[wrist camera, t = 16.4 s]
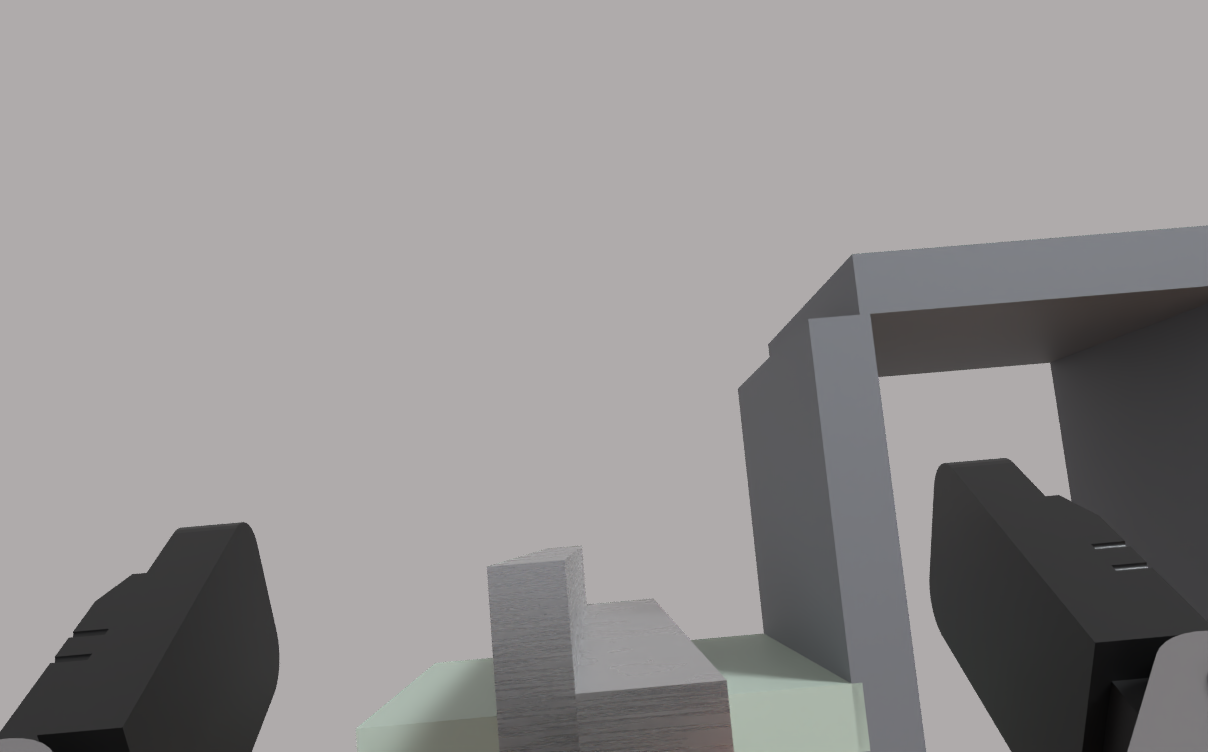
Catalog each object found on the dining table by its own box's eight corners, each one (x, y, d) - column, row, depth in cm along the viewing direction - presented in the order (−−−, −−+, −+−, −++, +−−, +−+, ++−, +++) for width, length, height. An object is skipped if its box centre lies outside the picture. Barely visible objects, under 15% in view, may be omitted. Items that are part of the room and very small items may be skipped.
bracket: (657, 643, 35) (648, 539, 36) (737, 783, 15) (713, 546, 16) (555, 652, 35) (547, 548, 36) (503, 805, 15) (486, 566, 16)
